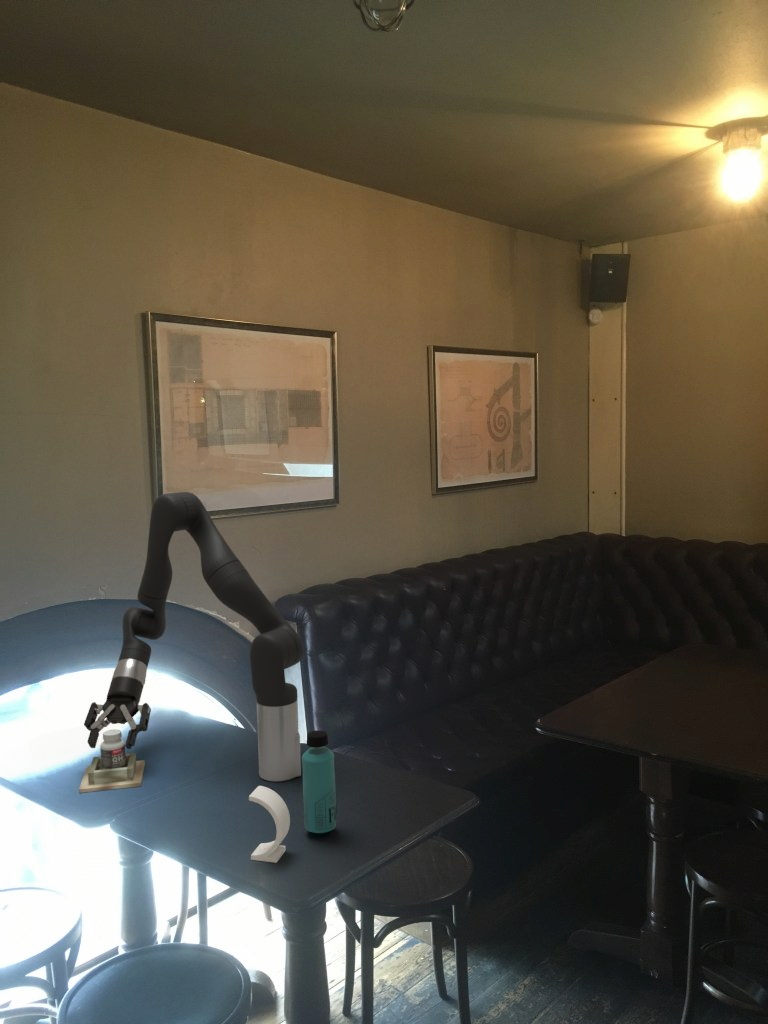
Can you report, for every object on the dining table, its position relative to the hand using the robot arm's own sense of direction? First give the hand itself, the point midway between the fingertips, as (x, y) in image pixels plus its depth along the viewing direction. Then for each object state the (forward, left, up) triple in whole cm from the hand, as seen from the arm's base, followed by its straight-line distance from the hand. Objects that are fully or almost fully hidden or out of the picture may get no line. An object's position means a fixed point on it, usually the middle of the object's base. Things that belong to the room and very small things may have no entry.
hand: (109, 747), depth 183 cm
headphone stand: (-32, +43, -8) cm, 54 cm away
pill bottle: (-1, -1, -7) cm, 7 cm away
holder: (0, -1, -7) cm, 7 cm away
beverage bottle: (-42, +37, -8) cm, 57 cm away
